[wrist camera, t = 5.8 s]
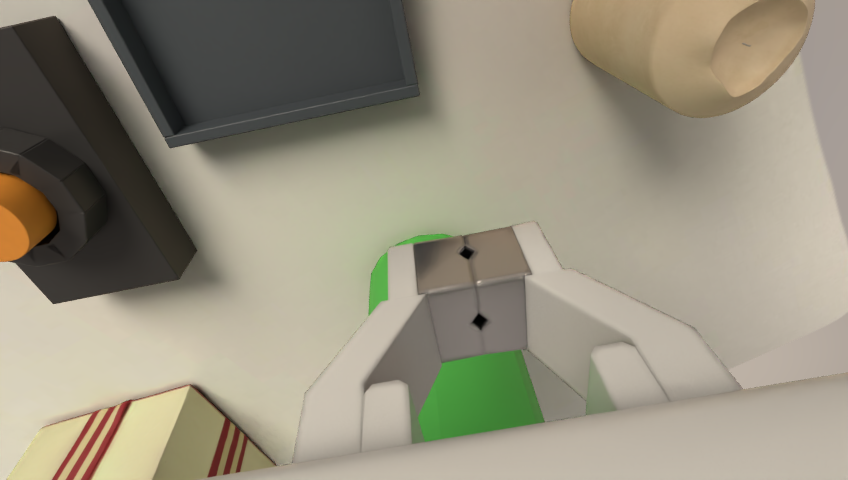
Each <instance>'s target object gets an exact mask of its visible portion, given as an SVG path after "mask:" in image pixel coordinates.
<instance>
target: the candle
mask: <svg viewBox="0 0 848 480" xmlns="http://www.w3.org/2000/svg"><path fill="white" fill-rule="evenodd" d="M814 9H815V0H573V2H572V6H571V12H570V31H571V35H572V38H573V41H574V44H575V45H576V47H577V49H578V50H579V52H580V53H581V54H582V55H583V56H584V57H585V58H586V59H587V60H588V61H590V62H591V63H593V64H594V65H596V66H598V67H599V68H601V69H603V70H604V71H606V72H608V73H610V74H611V75H613V76H615V77H616V78H618V79H620V80H622V81H623V82H625V83H627V84H628V85H630V86H632V87H634V88H635V89H637V90H639V91H640V92H642V93H644V94H646V95H647V96H649V97H651V98H652V99H654V100H656V101H658V102H659V103H661V104H663V105H664V106H666V107H668V108H670V109H671V110H673V111H675V112H677V113H679V114H681V115H684V116H688V117H695V118H708V117H714V116H719V115H723V114H726V113H729V112H732V111H734V110H736V109H739V108H740V107H742V106H744V105H746V104H748V103H750V102H751V101H753V100H754V99H756V98H757V97H759V96H760V95H761V94H762V93H764V92H765V91H766V90H767V89H769V88H770V87H771V86H772V85H773V84H774V83H775V82H776V81H777V80H778V79H779V78H780V77H781V76H782V75H783V74H784V73H785V72H786V70H787V69H788V68H789V67H790V65H791V64H792V63H793V61H794V60H795V58H796V57H797V55H798V54H799V52H800V50H801V48H802V46H803V44H804V42H805V39H806V38H807V35H808V32H809V29H810V26H811V23H812V19H813V14H814Z"/></svg>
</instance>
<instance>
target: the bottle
mask: <svg viewBox="0 0 848 480" xmlns="http://www.w3.org/2000/svg"><path fill="white" fill-rule="evenodd" d="M447 237H454V236H450V235H445V234H434V235H421V236H417V237H414V238H411V239H409V240H406V241H404V242H401V243H398V244H397V245H395V246H399V245H404V244H410V243H412V244H414V243H416V242H422V241H429V240H435V239H441V238H447ZM386 300H388V252H387V253H385V254H384V255H383V256H382V257H381V258H380V259H379V261H378V263H377V265H376V266H375V268H374V270H373V272H372V273H371V282H370V296H369V315H370V314H371V313H372V311H373V310H374V309H375V308H376V307H377V305H378V304H379V303H380V302H381V301H386ZM369 315H368V316H369ZM418 420H419V424H420V427H421V430H422V434H423V437H424V440H425V442H427V441H433V440H439V439H445V438H451V437H457V436H464V435H470V434H476V433H482V432H488V431H494V430H500V429H506V428H512V427H518V426H525V425H531V424H537V423H543V422H545V421H544V418H543V415H542V412H541V409H540V406H539V403H538V400H537V397H536V394H535V391H534V388H533V385H532V382H531V379H530V376H529V373H528V370H527V367H526V364H525V361H524V358H523V355H522V352H521V350H514V351H507V352H500V353H493V354H486V355H481V356H476V357H470V358H465V359H460V360H455V361H450V362H445V363H442V367H441V369H440V371H439V373H438V375H437V378H436V380H435V382H434V384H433V386H432V388H431V390H430V392H429V394H428V397H427V399H426V401H425V403H424V405H423V407H422V409H421V411H420V414H419V416H418Z"/></svg>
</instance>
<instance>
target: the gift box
mask: <svg viewBox="0 0 848 480" xmlns="http://www.w3.org/2000/svg"><path fill="white" fill-rule="evenodd" d="M275 466H276V465H275V464H274V463H273V462H272V461H271V460H270V459H269V458H268V457H267V456H266V455H265V454H264V453H263V452H261V451H260V450H259V448H258V447H256V446H255V445H254V444H253V443H252V442H251V441H250V440H249V439H248V438H247V436H246V435H244V434H243V433H242V432H241V431H240V430H239V429H238V428H237V427H236V426H235V425H234V424H233V423H232V422H230V421H229V419H227V418H226V417H225V416H224V415H223V414H222V413H221V412H220V411H219V410H218V409H217V408H216V407H215V406H214V405H213V404H212V403H210V402H209V401H208V400H207V399H206V398H205V397H204V396H203V395H202V394H201V393H200V392H199V391H198V390H197V389H195V388H194V387H193V386H192V385H191V384H190V385H186V386H182V387H179V388H175V389H172V390H168V391H165V392H162V393H159V394H155V395H152V396H148V397H145V398H141V399H137V400H129V401H126V402H123V403H121V404H119V405H117V406H114V407H110V408H106V409H102V410H98V411H95V412H93V413H89V414H86V415H82V416H79V417H75V418H72V419H68V420H65V421H62V422H58V423H55V424H51V425H48V426H45V427H42V428H41V430H40V431H39V432H38V434H37V435H36V437H35V438H34V439H33V441H32V442H31V444H30V446H29V447H28V449H27V450H26V452H25V453H24V455H23V456H22V458H21V459H20V460H19V462H18V463H17V465H16V466H15V468H14V469H13V471H12V472H11V474H10V475H9V477H8V478H7V480H196V479H202V478H208V477H214V476H220V475H226V474H232V473H238V472H244V471H251V470H257V469H263V468H269V467H275Z"/></svg>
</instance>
